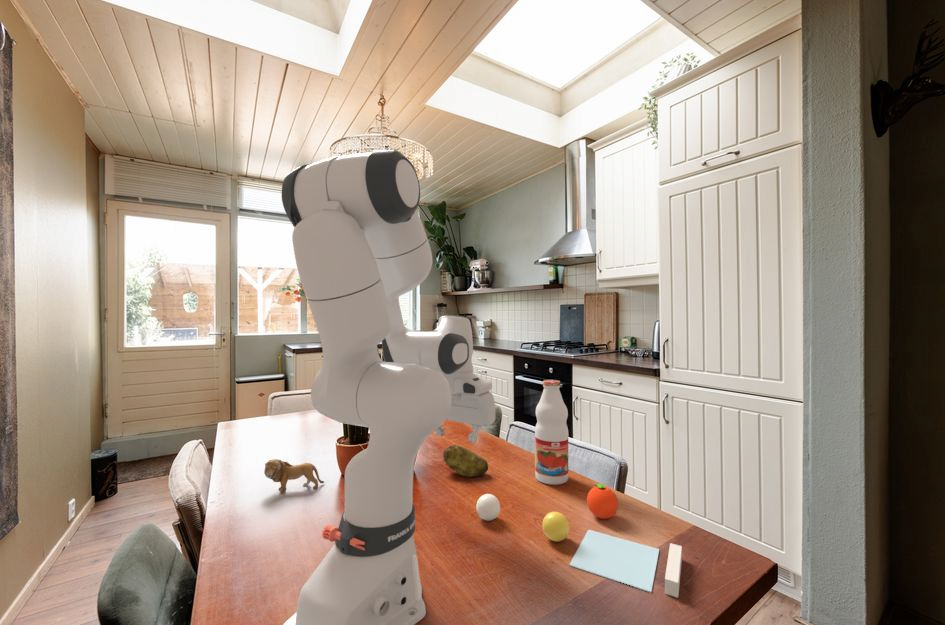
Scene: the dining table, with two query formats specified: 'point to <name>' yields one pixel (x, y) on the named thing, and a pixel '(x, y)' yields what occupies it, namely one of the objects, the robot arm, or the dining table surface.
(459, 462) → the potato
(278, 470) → the lion figurine
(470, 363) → the robot arm
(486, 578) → the dining table surface
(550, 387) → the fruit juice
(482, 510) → the cue ball
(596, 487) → the clementine
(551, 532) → the yellow ball
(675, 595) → the rail
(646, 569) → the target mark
